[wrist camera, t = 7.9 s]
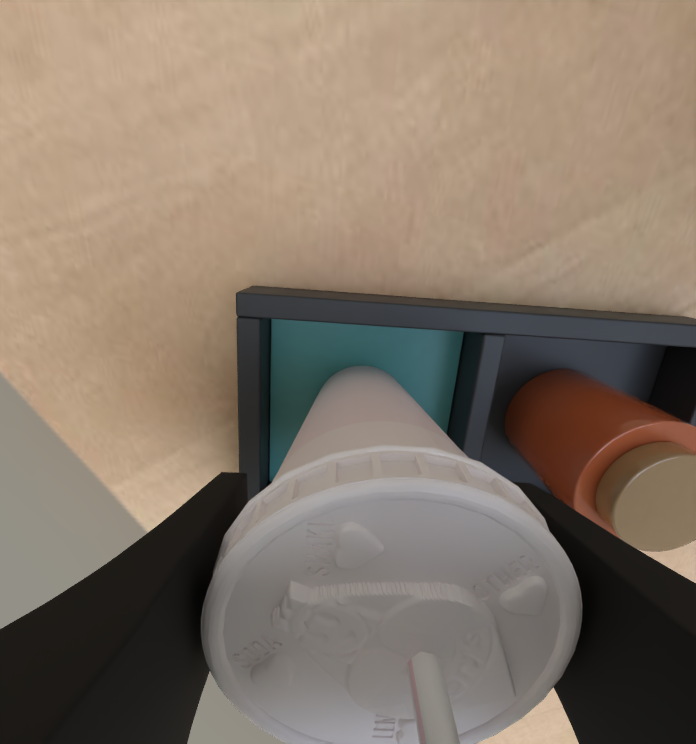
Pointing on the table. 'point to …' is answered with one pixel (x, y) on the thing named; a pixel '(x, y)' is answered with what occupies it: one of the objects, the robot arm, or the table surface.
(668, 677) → the robot arm
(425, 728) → the smoothie
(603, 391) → the spice pot
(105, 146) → the table surface
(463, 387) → the holder
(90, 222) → the table surface
